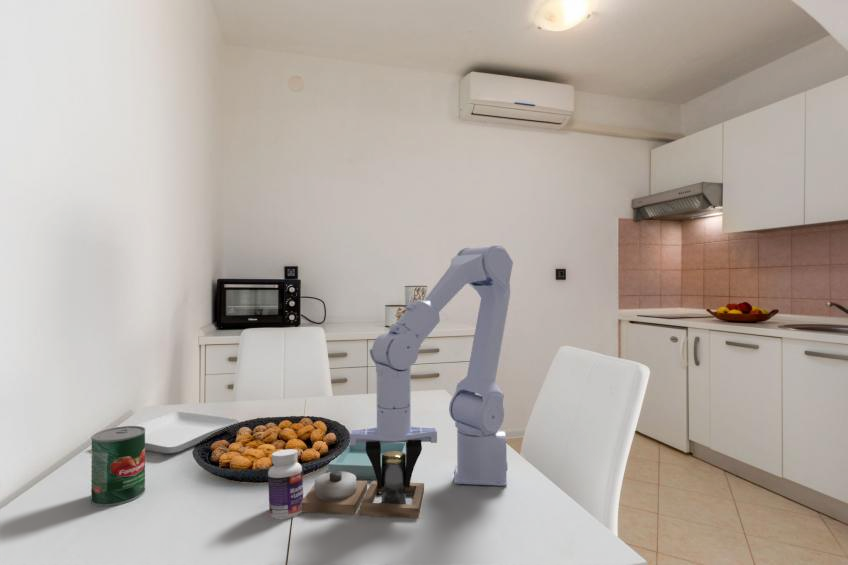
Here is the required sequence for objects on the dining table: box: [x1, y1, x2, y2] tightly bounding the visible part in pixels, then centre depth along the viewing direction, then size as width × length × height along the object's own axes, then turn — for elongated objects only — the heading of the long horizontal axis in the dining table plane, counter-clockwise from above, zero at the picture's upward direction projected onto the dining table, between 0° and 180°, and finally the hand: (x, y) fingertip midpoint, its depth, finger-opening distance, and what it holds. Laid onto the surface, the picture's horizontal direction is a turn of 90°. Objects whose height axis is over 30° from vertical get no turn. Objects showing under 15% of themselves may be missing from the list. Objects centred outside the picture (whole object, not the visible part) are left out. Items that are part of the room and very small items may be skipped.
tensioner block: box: [302, 471, 425, 519], centre depth 79 cm, size 19×9×4 cm, turn 85°
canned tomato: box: [90, 425, 146, 508], centre depth 81 cm, size 8×8×11 cm
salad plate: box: [133, 411, 240, 454], centre depth 111 cm, size 21×21×3 cm
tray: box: [328, 442, 406, 480], centre depth 95 cm, size 14×14×2 cm
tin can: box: [381, 451, 407, 504], centre depth 79 cm, size 4×4×8 cm
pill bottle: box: [267, 448, 304, 520], centre depth 76 cm, size 5×5×10 cm
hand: (393, 485), depth 79 cm, fingers closed on tin can, 4 cm apart
